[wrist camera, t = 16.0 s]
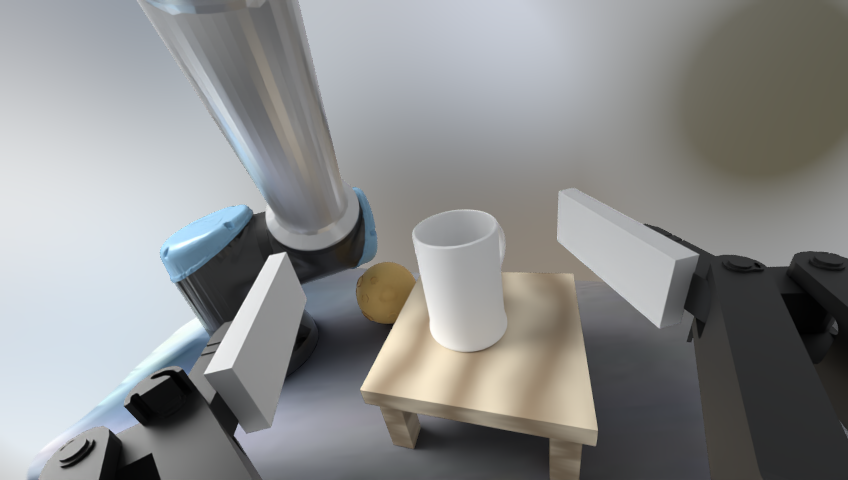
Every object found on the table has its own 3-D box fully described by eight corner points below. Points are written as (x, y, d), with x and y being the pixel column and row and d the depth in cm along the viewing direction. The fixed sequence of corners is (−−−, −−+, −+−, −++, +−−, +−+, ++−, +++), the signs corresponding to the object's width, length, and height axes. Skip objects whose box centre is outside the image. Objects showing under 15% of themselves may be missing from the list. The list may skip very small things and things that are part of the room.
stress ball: (403, 298, 60) (354, 276, 57) (430, 265, 54) (376, 240, 52) (396, 344, 52) (338, 322, 49) (427, 311, 46) (363, 285, 44)
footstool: (384, 450, 35) (359, 389, 30) (433, 321, 51) (422, 270, 47) (589, 498, 28) (598, 430, 23) (570, 333, 45) (572, 273, 40)
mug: (485, 277, 42) (476, 192, 37) (542, 304, 36) (541, 206, 31) (415, 325, 37) (392, 233, 31) (468, 367, 30) (451, 260, 25)
